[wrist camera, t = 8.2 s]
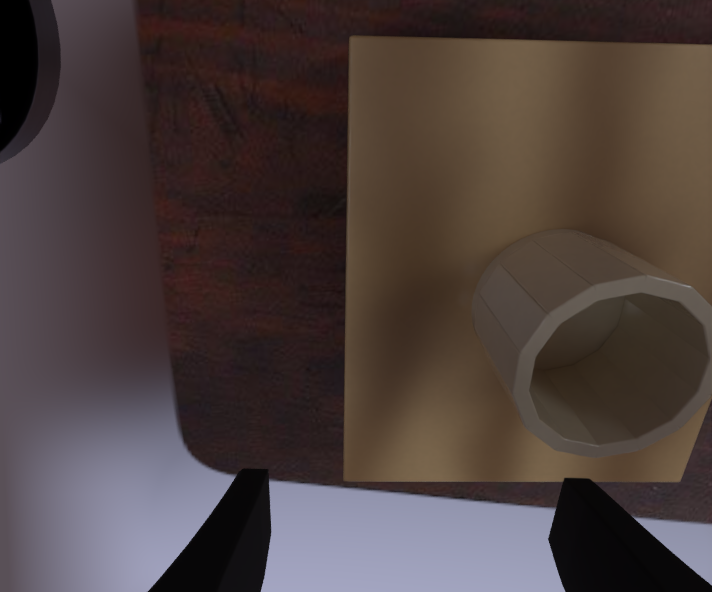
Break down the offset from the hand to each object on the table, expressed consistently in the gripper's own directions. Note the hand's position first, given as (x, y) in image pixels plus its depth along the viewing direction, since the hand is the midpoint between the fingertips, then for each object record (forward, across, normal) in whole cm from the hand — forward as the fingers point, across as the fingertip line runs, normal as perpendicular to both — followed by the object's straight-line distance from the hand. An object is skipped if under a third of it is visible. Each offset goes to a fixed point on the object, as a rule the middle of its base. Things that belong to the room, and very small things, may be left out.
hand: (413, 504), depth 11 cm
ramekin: (+6, -5, -3) cm, 8 cm away
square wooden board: (+10, -5, -3) cm, 12 cm away
